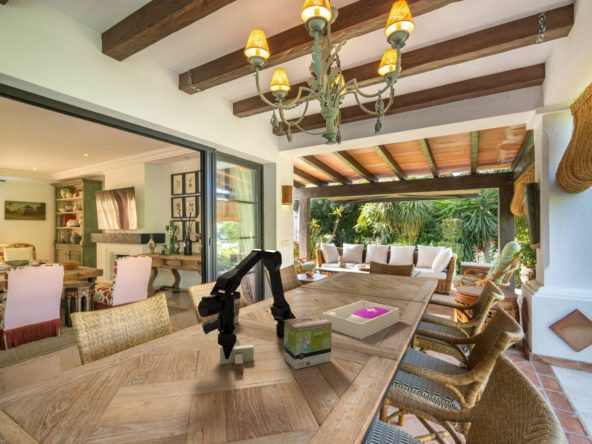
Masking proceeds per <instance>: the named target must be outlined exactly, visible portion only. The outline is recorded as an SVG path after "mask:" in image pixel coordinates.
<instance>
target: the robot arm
mask: <svg viewBox="0 0 592 444" xmlns="http://www.w3.org/2000/svg"><path fill="white" fill-rule="evenodd" d="M260 261H262V264H263V267H264V268H265V269H266V270H267V272H268V275H269V282H270V287H271V292H272V299H273V302H272V305H271V306H269V310H270V315H271V316H272V317H273V320H274V321H275V322H276V324H275V334H276V336H277V338H279V339H284V325H285V320H289V319H296V318H297V317H296V315H295V314H294V313H293V312H292V310H291V308H292V307H291V306H290V304H289V303H288V301H287V300H286V298H285V292H284V286H283V280H282V275H281V267H282V264H283V256H282V252H280V250H274V249H266V250H265V249H262V248H254V249H251V251H250V252H249V254H247V255H246V257H244V259H242V260H241V261H240V262H239V263H238V264H236V266H235V267H234V268H232V269H231V270H227V271H226V272H224V273H222V274H220V275H219V276H218V277H217V278H216V280H215V284H214V285H213V287H212V289H211V290H210V293H209V295H205V296H201V300H200V301H199V303H198V305H197V311H198V314H199V316H200V317H201V318H203V319H204V318H207V317H210V316H214V315H217V316H215V317H212V318H210V319H208V320H204V321H202V323H201V328H202V331H203V333H204V335H208V334H209V333H212V332H214V331H215V330H217V332H219V333H218V334H217V345H218V346H221V348H222V347H223V351H224V356H225V359H229V356H230V354H231V352H232V349H233V347H234V345H235V343H236V342H237V339H238V338H237V332H236V331H235V329H236V323H235V297H238V296H240V295H239V294H238V293H237V292H238V291H237V290H238V288H240V285H241V283H242V280H243V278H244V277H245V276H246V275H247V274H248V273H249V272H250V271H252V269H253V268H254V267H255V266H256V265H257V264H258V263H259V262H260Z"/></svg>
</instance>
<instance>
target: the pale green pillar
mask: <svg viewBox="0 0 592 444" xmlns="http://www.w3.org/2000/svg"><path fill="white" fill-rule="evenodd" d="M254 350H255V348H254V344H245V345H240V346H234V347H233V349H232V352H231V354H230V356H229V359H225V356H224V351H223V347H222V346H221V347H219V365H223V364H234V354H236V353H242V359H243V362H251V361H254V358H255V356H254V355H255V354H254V353H255V351H254Z"/></svg>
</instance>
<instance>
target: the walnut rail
mask: <svg viewBox="0 0 592 444" xmlns="http://www.w3.org/2000/svg"><path fill="white" fill-rule="evenodd" d="M234 346H241V343H240V339H239V340H237V342H236V343H235V345H234ZM233 364H234V365H233V366H234V372H235V375H241V374H244V361H243V359H242V353H236V354H234V363H233Z"/></svg>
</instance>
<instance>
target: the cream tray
mask: <svg viewBox="0 0 592 444" xmlns="http://www.w3.org/2000/svg"><path fill="white" fill-rule="evenodd" d="M321 317H322V318H324V319H326V320H328V321H330V322H331V323H332V331H334V330H335V331H334V332H337V331H338V332H337V333H340V332H342V333H341V334H343V333H344V334H343V335H346V334H348V335H347V336H349V335H351V336H350V337H352V336H354V337H353V338H355V337H357V338H356V339H358V338H360V339H359V340H361V339H362V338H364V339H366V338H368V337H370V336H372V335H374V334H376V333H378V332H381V331H382V330H384V329H386V328H388V327H391V326H393V325H395V324H396V323H398V322H399V323H400V308H399V307H394V306H390V305H385V304H381V303H376V302H371V301H367V300H364V299H363V300H358V301H356V302H352V303H349V304H346V305H342V306H339V307H337V308H333V309H331V310H328V311H325V312H322V313H321ZM369 335H370V336H369ZM367 336H368V337H367ZM365 337H366V338H365ZM362 340H363V339H362Z"/></svg>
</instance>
